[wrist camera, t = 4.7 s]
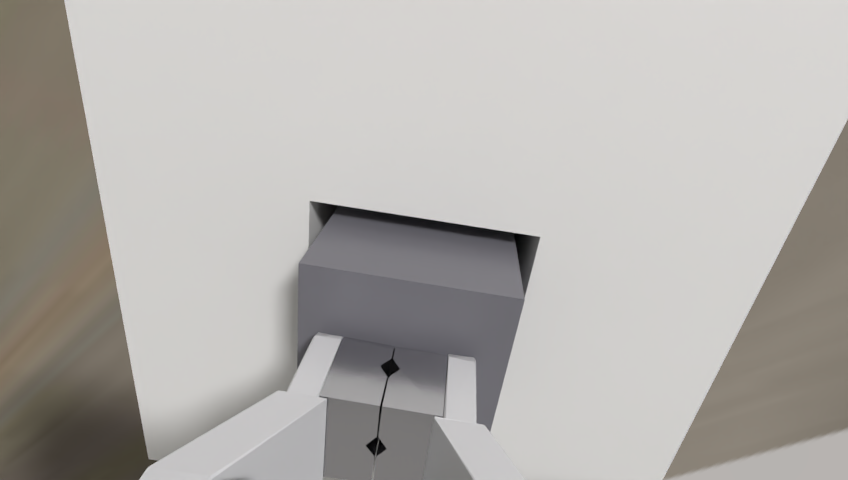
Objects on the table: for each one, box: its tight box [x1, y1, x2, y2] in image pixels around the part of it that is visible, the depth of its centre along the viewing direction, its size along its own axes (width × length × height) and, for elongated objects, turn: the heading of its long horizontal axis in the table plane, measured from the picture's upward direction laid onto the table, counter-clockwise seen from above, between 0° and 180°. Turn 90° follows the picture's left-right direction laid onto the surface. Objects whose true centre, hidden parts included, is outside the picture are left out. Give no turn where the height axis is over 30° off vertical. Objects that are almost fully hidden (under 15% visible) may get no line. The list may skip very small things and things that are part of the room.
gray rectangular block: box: [297, 205, 525, 431], centre depth 12 cm, size 4×4×6 cm
